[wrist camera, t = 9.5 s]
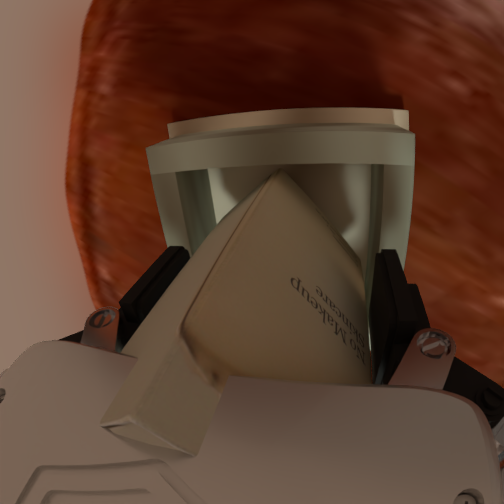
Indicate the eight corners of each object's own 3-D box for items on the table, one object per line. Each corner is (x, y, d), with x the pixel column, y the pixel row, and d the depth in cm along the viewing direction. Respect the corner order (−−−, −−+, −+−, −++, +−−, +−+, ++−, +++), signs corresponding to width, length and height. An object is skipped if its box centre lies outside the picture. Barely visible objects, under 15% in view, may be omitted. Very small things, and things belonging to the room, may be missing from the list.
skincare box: (362, 258, 15) (383, 523, 4) (295, 301, 17) (249, 531, 6) (276, 161, 13) (128, 422, 3) (212, 220, 15) (59, 439, 5)
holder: (404, 109, 12) (432, 116, 9) (388, 308, 18) (396, 358, 14) (174, 122, 15) (129, 135, 12) (209, 301, 21) (185, 345, 17)
